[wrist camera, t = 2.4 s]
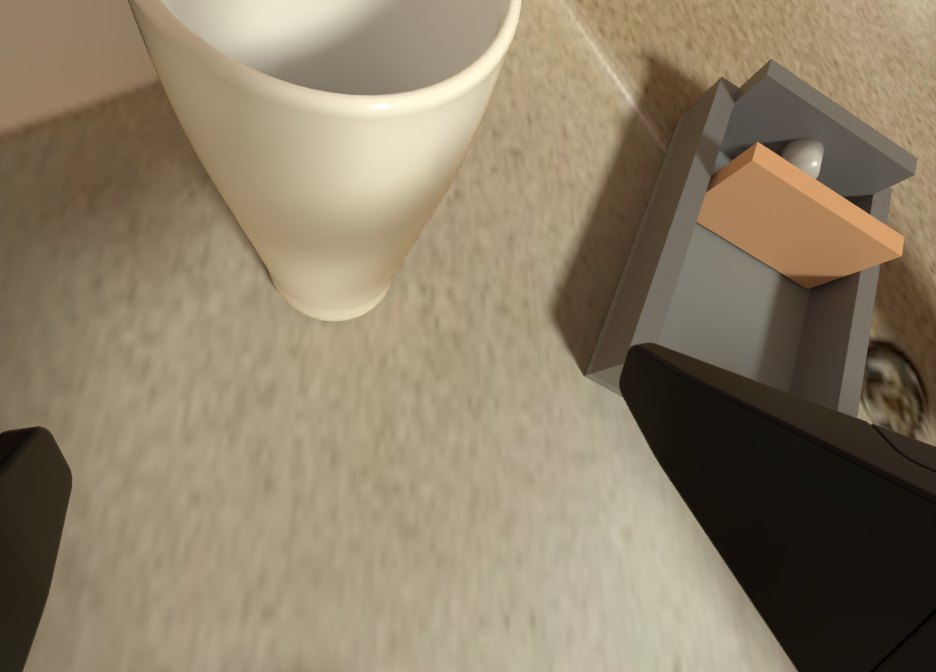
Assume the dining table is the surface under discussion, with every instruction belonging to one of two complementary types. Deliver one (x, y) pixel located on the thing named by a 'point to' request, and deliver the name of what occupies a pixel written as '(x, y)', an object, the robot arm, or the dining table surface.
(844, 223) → the block
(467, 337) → the dining table surface
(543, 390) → the dining table surface
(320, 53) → the drinking glass
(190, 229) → the dining table surface
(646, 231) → the gray tray
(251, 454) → the dining table surface
